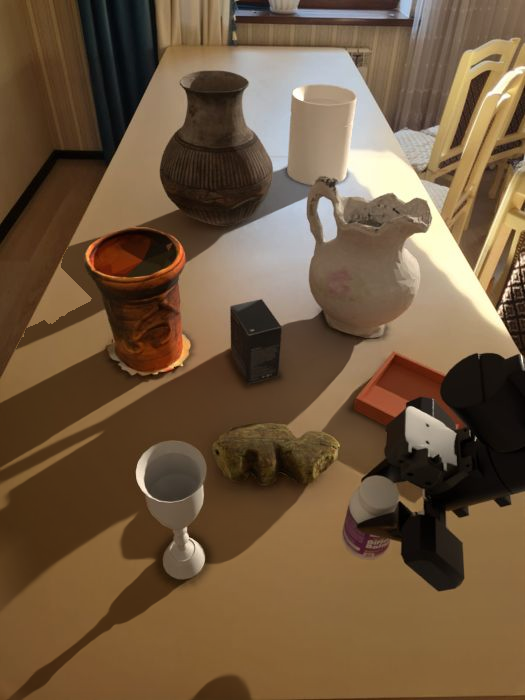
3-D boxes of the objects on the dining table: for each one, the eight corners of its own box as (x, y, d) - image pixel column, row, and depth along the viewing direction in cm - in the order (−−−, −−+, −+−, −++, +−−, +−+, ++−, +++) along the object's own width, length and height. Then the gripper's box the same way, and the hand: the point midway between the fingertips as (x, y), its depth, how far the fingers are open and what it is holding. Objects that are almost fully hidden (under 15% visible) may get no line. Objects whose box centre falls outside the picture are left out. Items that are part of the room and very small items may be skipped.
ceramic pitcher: (278, 333, 98) (283, 213, 80) (309, 270, 110) (319, 154, 92) (397, 364, 93) (431, 243, 75) (416, 294, 105) (448, 177, 87)
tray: (484, 405, 85) (490, 394, 83) (454, 461, 76) (459, 449, 75) (390, 362, 91) (393, 350, 90) (353, 409, 83) (355, 397, 81)
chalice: (148, 542, 66) (128, 452, 54) (201, 522, 68) (193, 432, 56) (164, 598, 61) (146, 513, 49) (221, 575, 63) (217, 488, 51)
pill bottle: (367, 571, 59) (382, 525, 52) (331, 537, 61) (341, 489, 55) (398, 541, 61) (416, 493, 55) (363, 509, 64) (376, 460, 58)
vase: (252, 188, 138) (254, 59, 118) (285, 236, 121) (294, 95, 100) (156, 200, 132) (141, 66, 111) (177, 253, 114) (163, 105, 94)
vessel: (125, 394, 84) (103, 290, 71) (94, 342, 93) (69, 240, 79) (207, 362, 90) (201, 260, 77) (171, 315, 99) (160, 216, 85)
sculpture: (209, 464, 68) (214, 413, 76) (209, 492, 71) (214, 441, 79) (347, 467, 68) (338, 416, 77) (343, 495, 71) (334, 443, 80)
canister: (275, 174, 144) (279, 95, 131) (306, 155, 154) (313, 80, 141) (327, 191, 138) (337, 110, 124) (356, 170, 148) (368, 92, 134)
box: (279, 376, 88) (282, 326, 81) (247, 385, 86) (247, 335, 79) (260, 346, 93) (262, 297, 86) (229, 354, 92) (229, 305, 84)
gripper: (449, 336, 52) (324, 395, 61) (458, 503, 38) (296, 547, 47) (508, 406, 56) (383, 451, 65) (535, 579, 42) (372, 606, 52)
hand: (361, 504), depth 57 cm, fingers closed on pill bottle, 5 cm apart
